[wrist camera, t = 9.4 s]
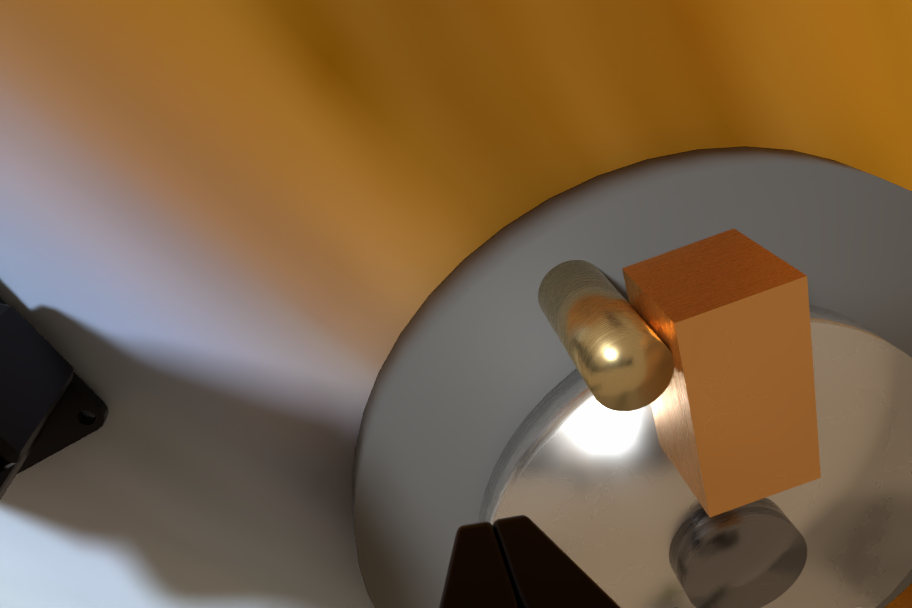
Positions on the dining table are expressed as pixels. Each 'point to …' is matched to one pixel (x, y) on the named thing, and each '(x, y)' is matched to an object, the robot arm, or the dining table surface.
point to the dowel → (605, 337)
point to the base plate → (544, 357)
